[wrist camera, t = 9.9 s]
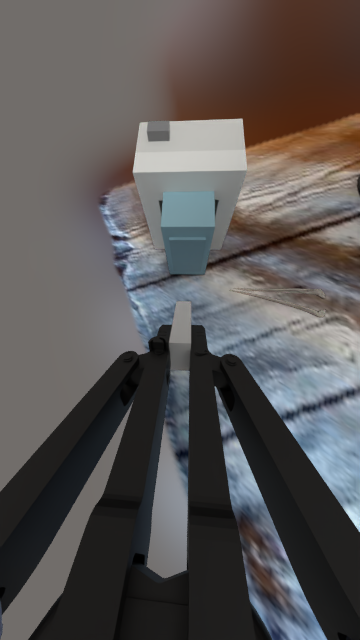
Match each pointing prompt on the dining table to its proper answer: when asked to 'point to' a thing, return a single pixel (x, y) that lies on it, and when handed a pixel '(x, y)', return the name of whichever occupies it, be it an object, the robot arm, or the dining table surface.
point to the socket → (190, 168)
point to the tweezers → (296, 291)
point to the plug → (188, 230)
